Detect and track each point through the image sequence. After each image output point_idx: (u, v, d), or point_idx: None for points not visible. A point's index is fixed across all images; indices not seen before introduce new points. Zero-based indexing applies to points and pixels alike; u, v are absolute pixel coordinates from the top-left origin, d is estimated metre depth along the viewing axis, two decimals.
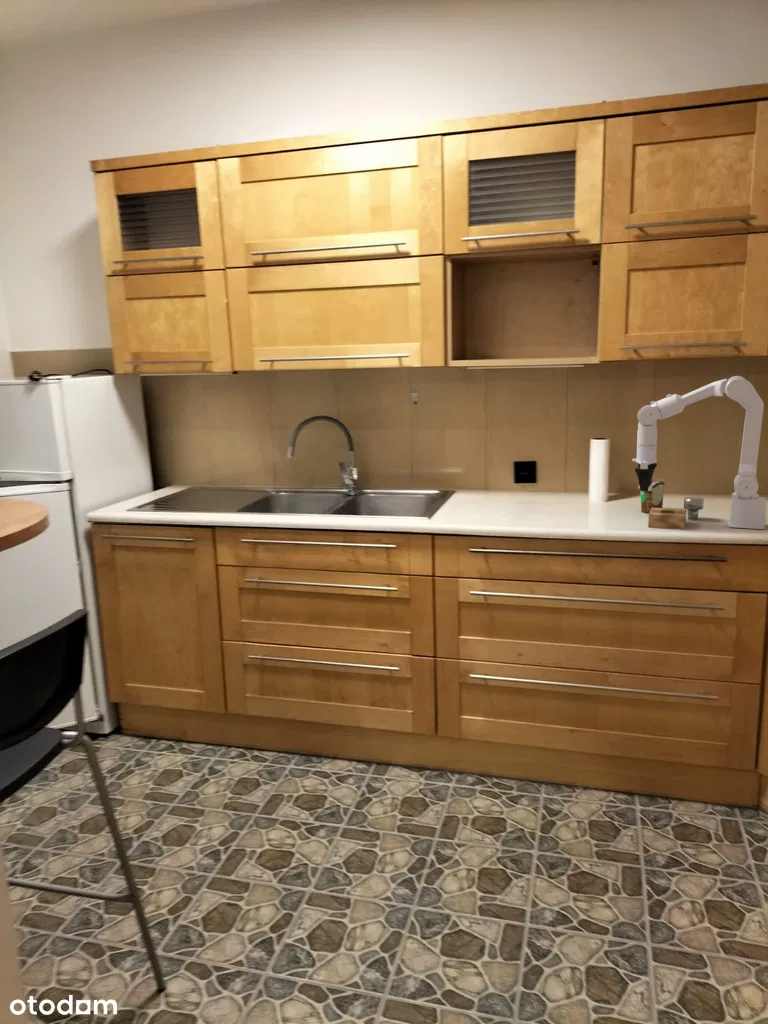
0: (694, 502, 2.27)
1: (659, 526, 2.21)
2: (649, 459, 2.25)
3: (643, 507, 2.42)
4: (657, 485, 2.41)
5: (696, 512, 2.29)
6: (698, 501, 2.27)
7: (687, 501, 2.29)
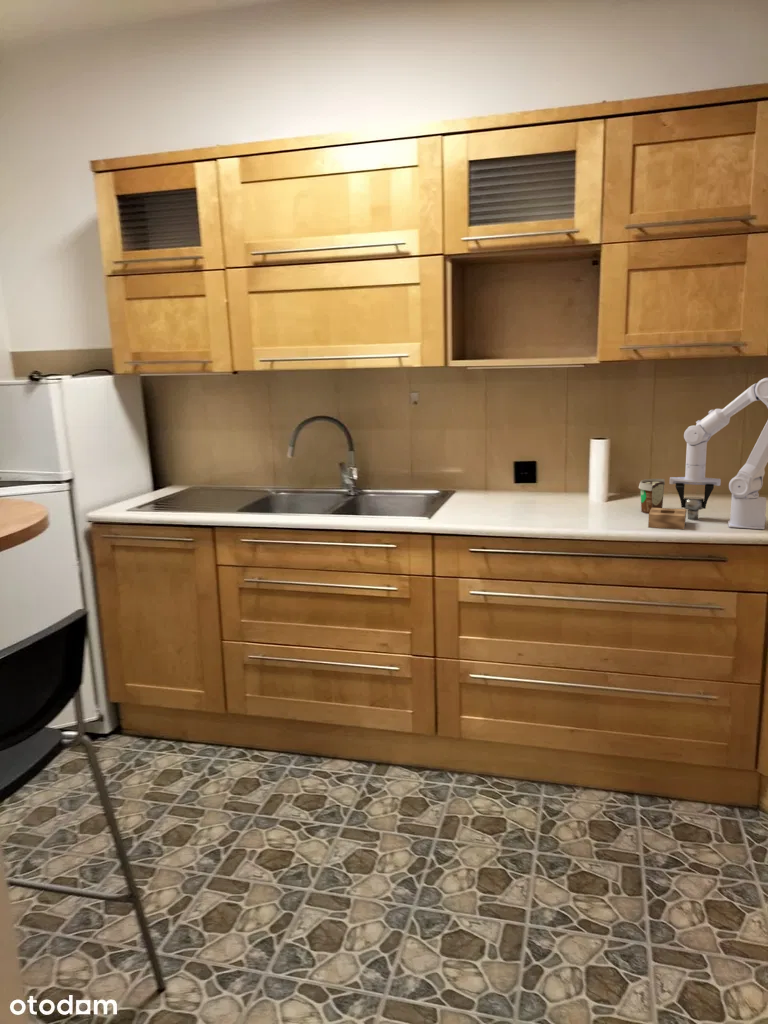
0: (694, 502, 2.27)
1: (659, 526, 2.21)
2: (685, 477, 2.29)
3: (643, 507, 2.42)
4: (657, 485, 2.41)
5: (696, 512, 2.29)
6: (698, 501, 2.27)
7: (687, 501, 2.29)
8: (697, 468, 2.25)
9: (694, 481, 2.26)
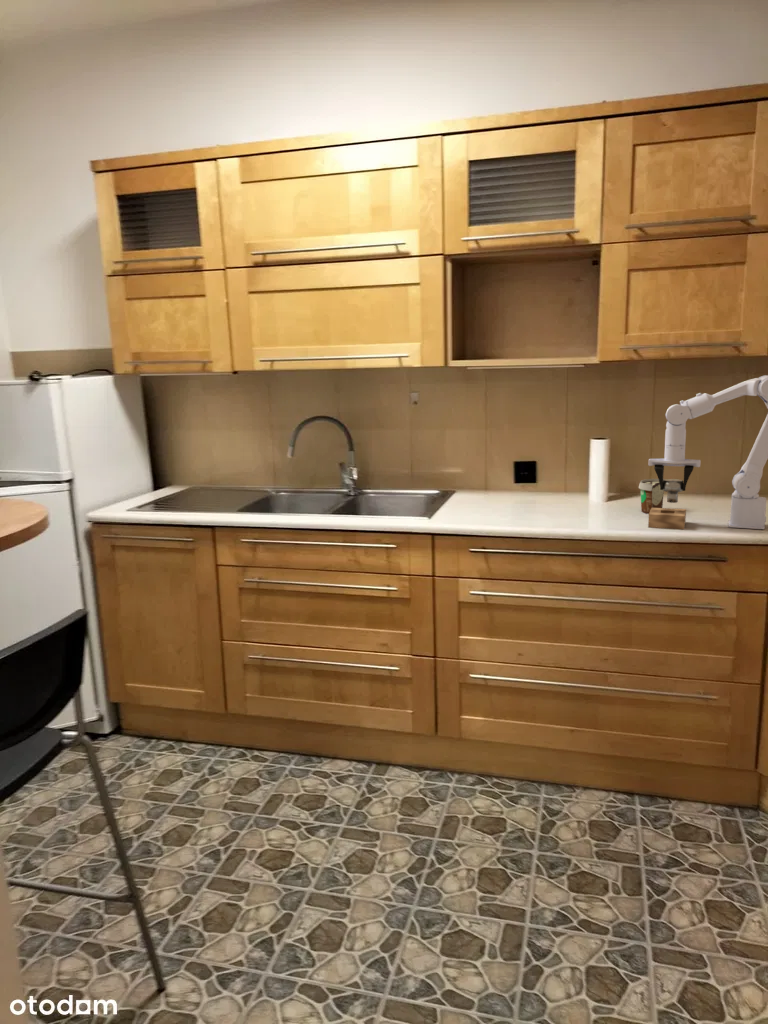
0: (672, 484, 2.21)
1: (659, 526, 2.21)
2: (664, 458, 2.22)
3: (643, 507, 2.42)
4: (657, 485, 2.41)
5: (675, 494, 2.23)
6: (677, 483, 2.21)
7: (666, 483, 2.23)
8: (676, 449, 2.19)
9: (673, 462, 2.20)
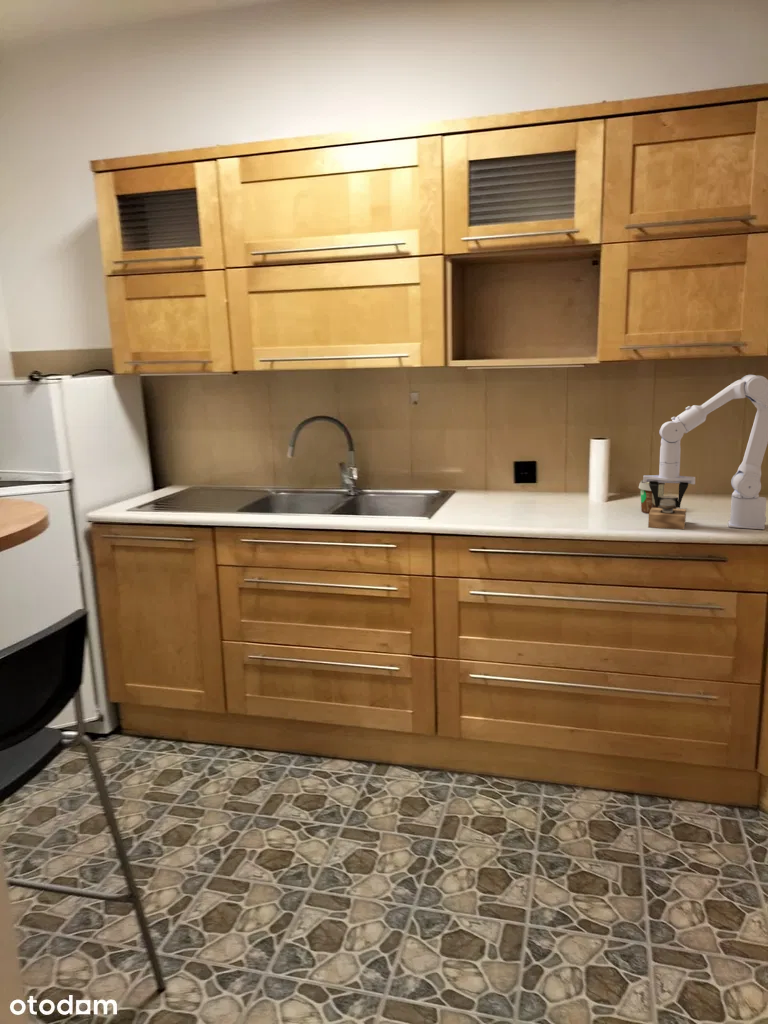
0: (667, 501, 2.21)
1: (659, 526, 2.21)
2: (659, 475, 2.22)
3: (643, 507, 2.42)
4: None
5: (670, 511, 2.23)
6: (671, 500, 2.21)
7: (660, 500, 2.23)
8: (671, 466, 2.19)
9: (668, 479, 2.19)
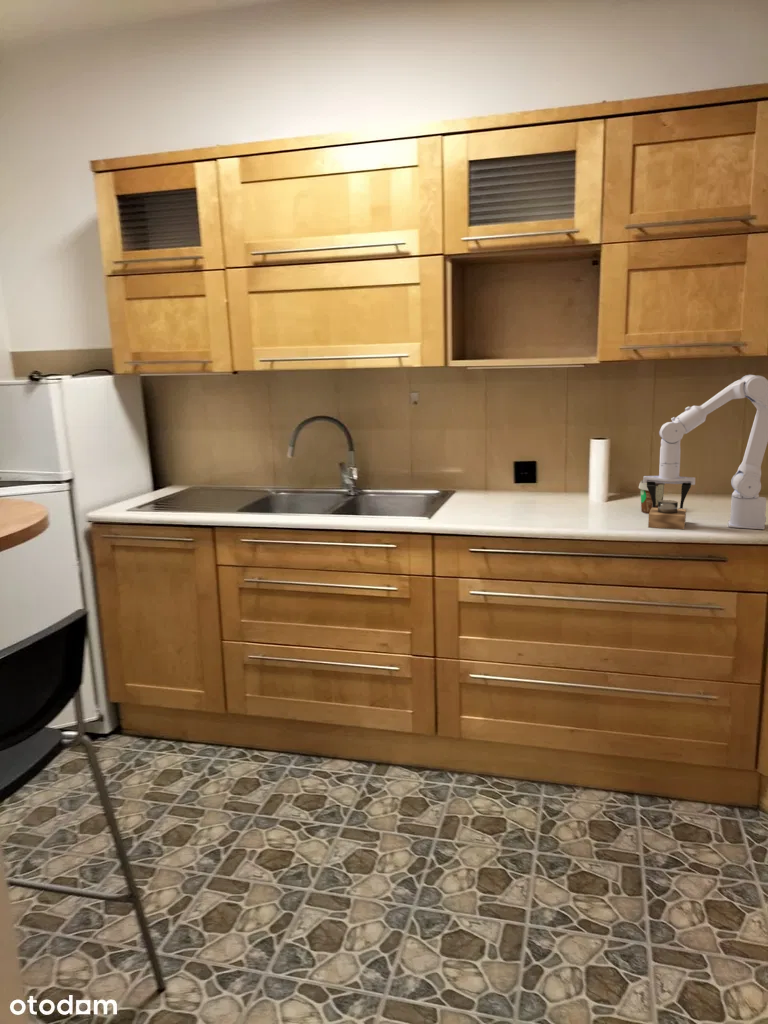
0: (667, 505, 2.22)
1: (659, 526, 2.21)
2: (659, 476, 2.22)
3: (643, 507, 2.42)
4: (657, 485, 2.41)
5: None
6: (671, 505, 2.21)
7: (660, 504, 2.23)
8: (671, 466, 2.19)
9: (668, 480, 2.19)
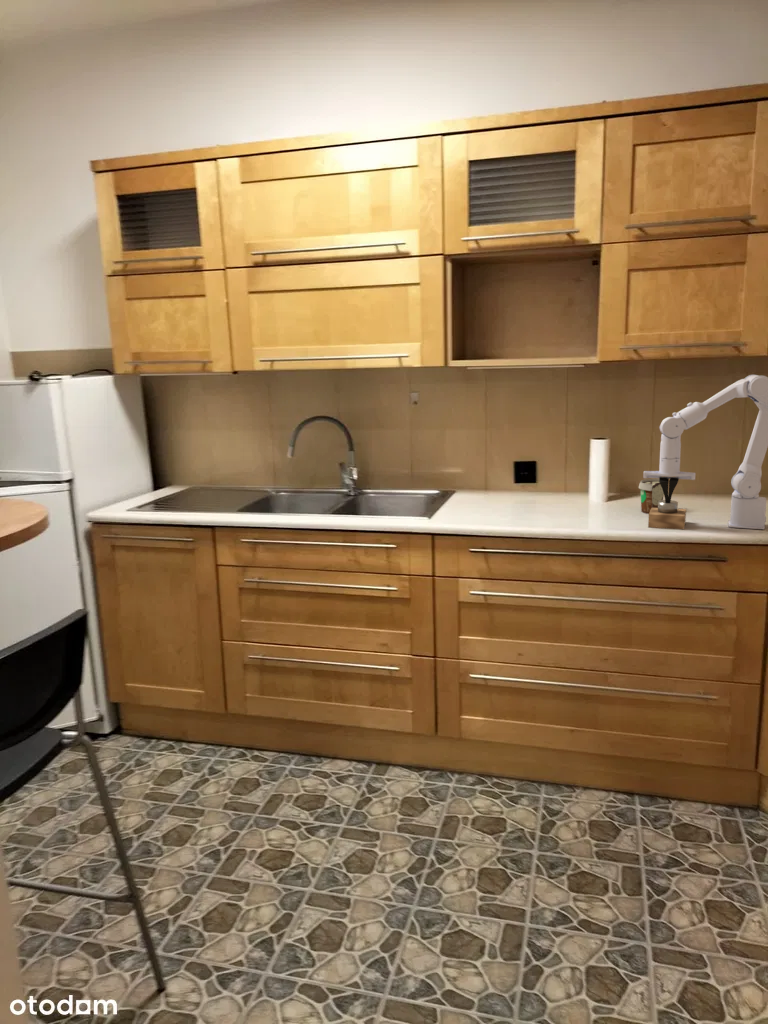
0: (667, 505, 2.22)
1: (659, 526, 2.21)
2: (659, 471, 2.22)
3: (643, 507, 2.42)
4: (657, 485, 2.41)
5: None
6: (671, 505, 2.21)
7: (660, 504, 2.23)
8: (671, 461, 2.18)
9: (668, 475, 2.19)
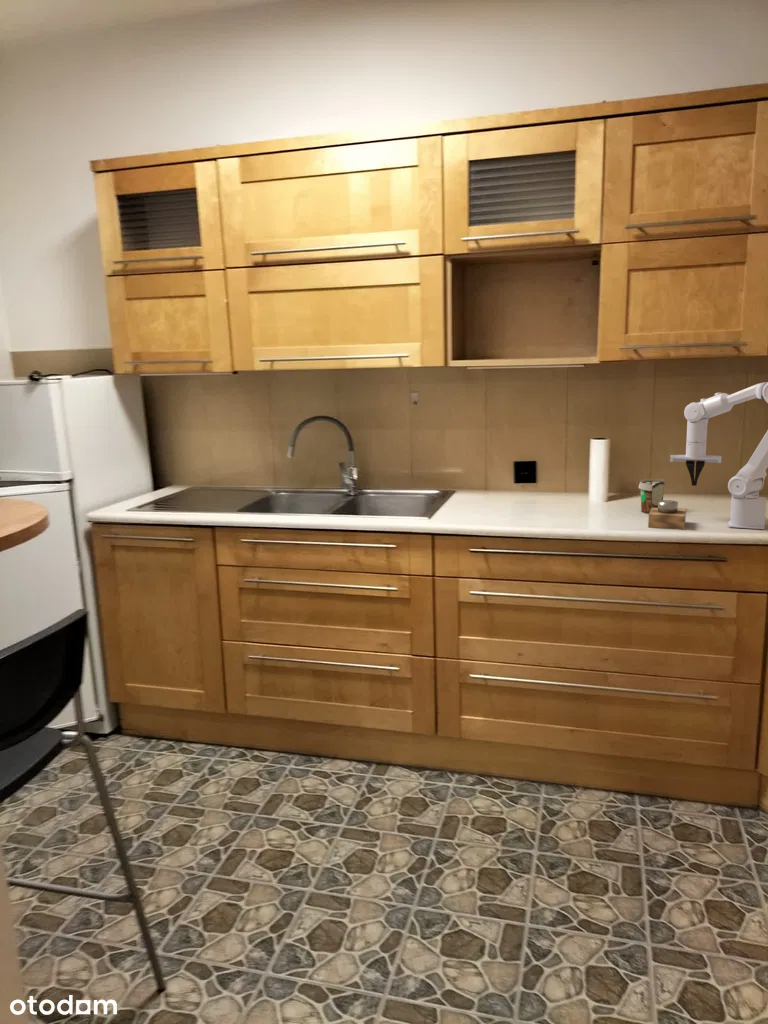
0: (667, 505, 2.22)
1: (659, 526, 2.21)
2: (686, 455, 2.29)
3: (643, 507, 2.42)
4: (657, 485, 2.41)
5: None
6: (671, 505, 2.21)
7: (660, 504, 2.23)
8: (698, 445, 2.25)
9: (695, 458, 2.26)
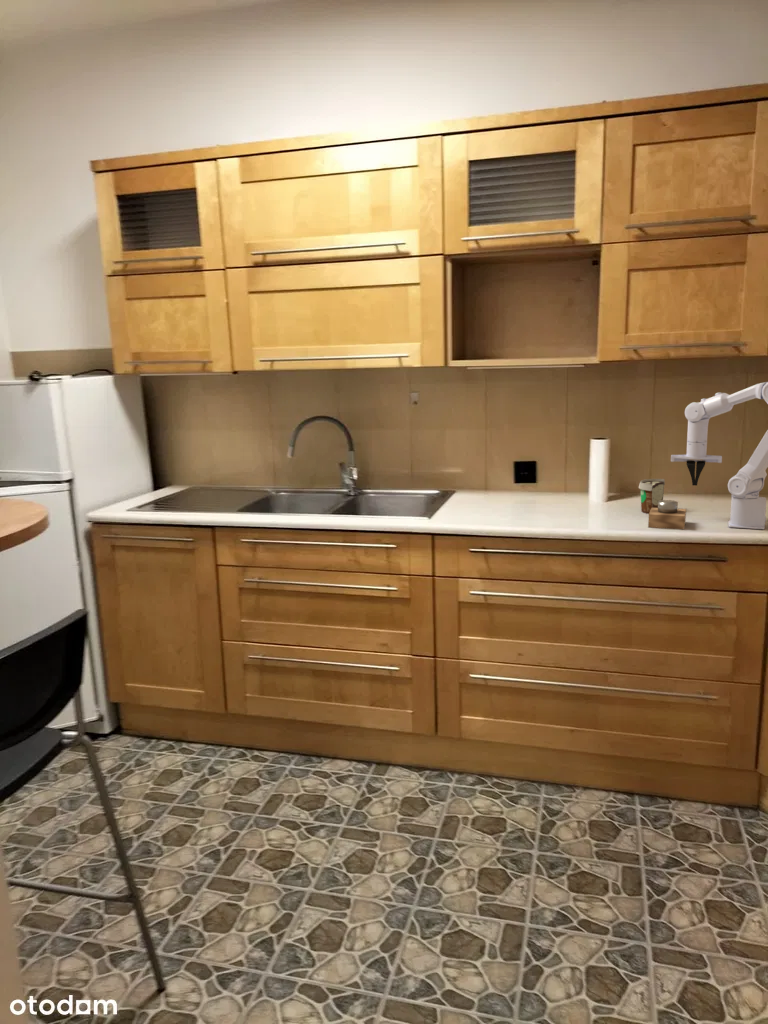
0: (667, 505, 2.22)
1: (659, 526, 2.21)
2: (687, 454, 2.29)
3: (643, 507, 2.42)
4: (657, 485, 2.41)
5: None
6: (671, 505, 2.21)
7: (660, 504, 2.23)
8: (698, 445, 2.25)
9: (695, 458, 2.26)
